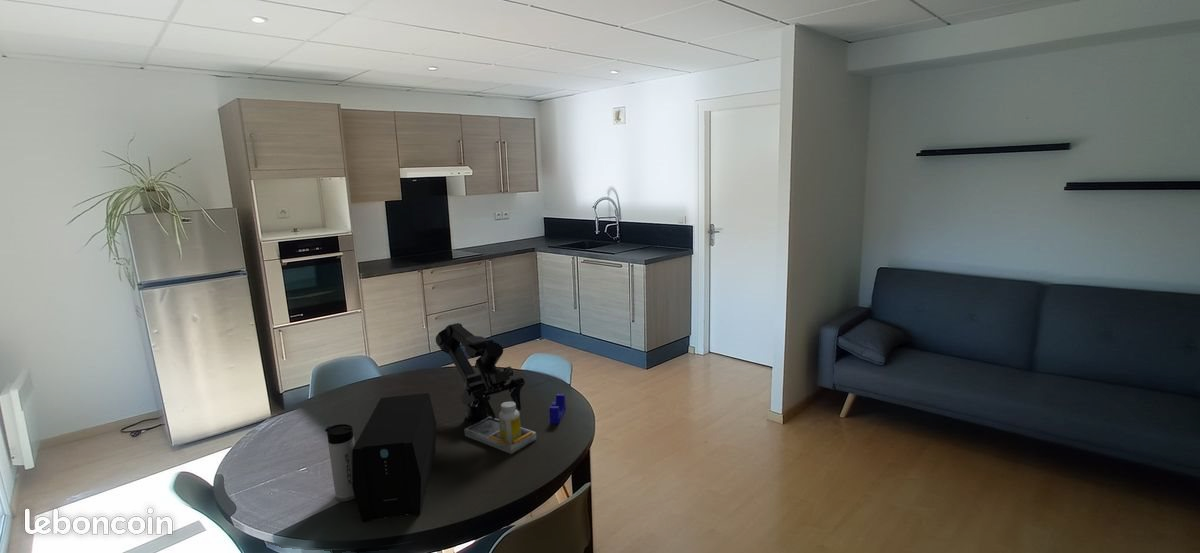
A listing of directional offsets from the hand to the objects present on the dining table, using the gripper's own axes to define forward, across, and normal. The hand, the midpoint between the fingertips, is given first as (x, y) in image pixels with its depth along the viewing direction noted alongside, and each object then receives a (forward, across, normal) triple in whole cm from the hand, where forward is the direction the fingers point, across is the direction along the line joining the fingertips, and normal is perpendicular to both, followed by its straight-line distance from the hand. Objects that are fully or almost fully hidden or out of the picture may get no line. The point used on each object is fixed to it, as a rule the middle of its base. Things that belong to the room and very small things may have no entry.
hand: (507, 414), depth 174 cm
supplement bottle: (+8, 0, +6) cm, 9 cm away
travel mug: (+5, -49, +8) cm, 50 cm away
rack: (+4, -1, +9) cm, 10 cm away
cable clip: (+4, +21, +10) cm, 24 cm away
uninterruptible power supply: (+8, -35, +6) cm, 36 cm away
